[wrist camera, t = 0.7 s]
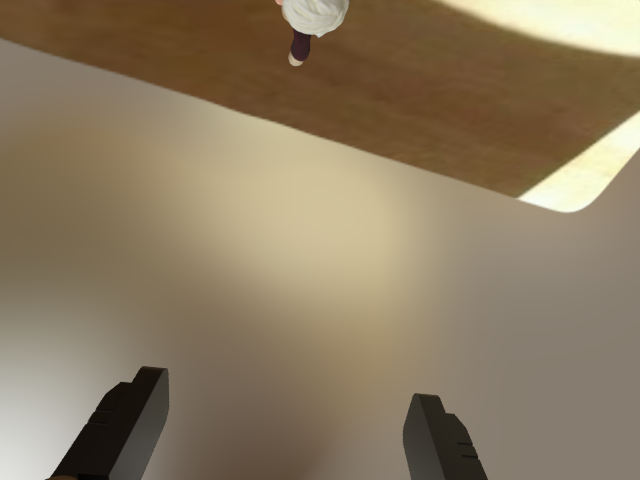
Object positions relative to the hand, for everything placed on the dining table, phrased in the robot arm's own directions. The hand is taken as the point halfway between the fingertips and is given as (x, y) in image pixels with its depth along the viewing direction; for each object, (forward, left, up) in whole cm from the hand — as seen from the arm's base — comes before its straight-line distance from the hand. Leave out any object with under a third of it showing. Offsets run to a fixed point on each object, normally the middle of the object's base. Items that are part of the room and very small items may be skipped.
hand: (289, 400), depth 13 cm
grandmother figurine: (-4, +11, -26) cm, 28 cm away
